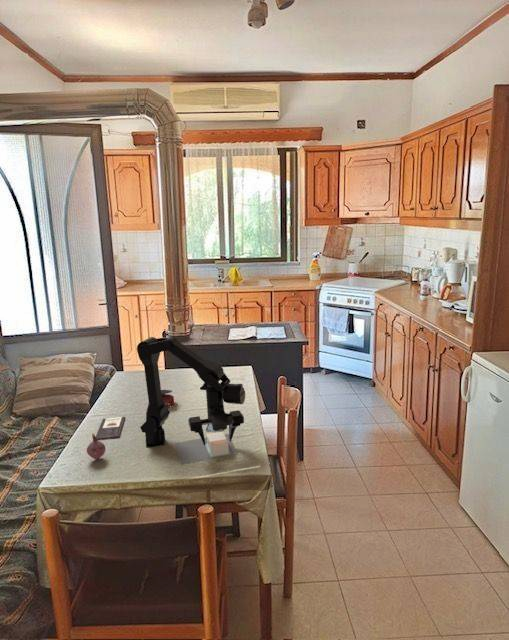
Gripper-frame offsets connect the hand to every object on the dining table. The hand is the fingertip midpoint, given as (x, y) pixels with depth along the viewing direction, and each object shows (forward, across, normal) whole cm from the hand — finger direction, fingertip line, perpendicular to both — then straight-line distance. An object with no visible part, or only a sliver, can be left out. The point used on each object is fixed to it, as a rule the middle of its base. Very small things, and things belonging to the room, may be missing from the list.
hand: (217, 442), depth 165 cm
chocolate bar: (+4, -37, +32) cm, 49 cm away
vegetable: (+3, -41, +8) cm, 42 cm away
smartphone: (+4, +4, +21) cm, 22 cm away
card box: (+2, 0, 0) cm, 2 cm away
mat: (+3, -4, +2) cm, 5 cm away
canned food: (+3, -15, +49) cm, 51 cm away
